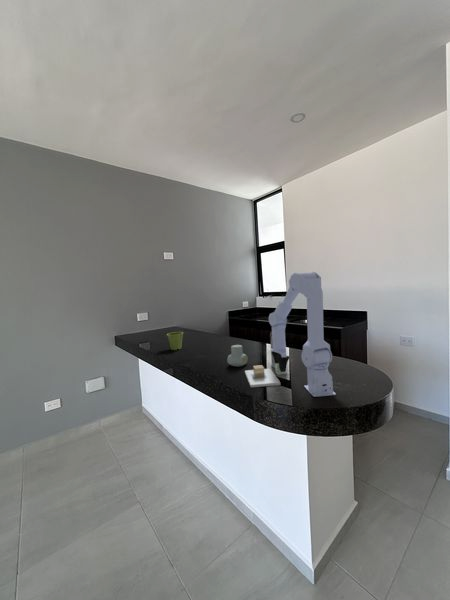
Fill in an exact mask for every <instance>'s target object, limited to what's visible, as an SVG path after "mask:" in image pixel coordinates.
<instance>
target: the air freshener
mask: <svg viewBox="0 0 450 600" xmlns="http://www.w3.org/2000/svg"><path fill="white" fill-rule="evenodd" d="M230 351H231V354H228V356H227V360H226V361H227V363H228V365H230V366H233V367H244V365H246V364H247V363H248V360H249V359H248V355H247V354H245V353H243V351H244V350H243V345H241V344H234V345H231V346H230Z"/></svg>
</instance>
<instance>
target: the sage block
mask: <svg viewBox="0 0 450 600" xmlns="http://www.w3.org/2000/svg"><path fill="white" fill-rule="evenodd" d="M274 368H275V370H274V372H275V374H277V375H279V376H280V375H287V370H286V371H285V372H281V371H280V368H279V363H275V367H274Z"/></svg>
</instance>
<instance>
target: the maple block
mask: <svg viewBox="0 0 450 600" xmlns="http://www.w3.org/2000/svg"><path fill="white" fill-rule="evenodd" d="M252 368H253V369H252V370H254V376H255V378H260V377H265V374H264V369H265V367H264V365H262V364H261V365H253V367H252Z"/></svg>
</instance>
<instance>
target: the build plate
mask: <svg viewBox="0 0 450 600" xmlns="http://www.w3.org/2000/svg"><path fill="white" fill-rule="evenodd" d="M244 374H245V377H246V380H247V382H248V384H249V387H250V388H260V387H272V386H273V387H274V386H281V382H280V380H279V378H278V377H277V375H276V373H274V372H273V371H272V369H271V368H264V374H265V377H260V378H255V376H254V370H253V369H248V370H244Z"/></svg>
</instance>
